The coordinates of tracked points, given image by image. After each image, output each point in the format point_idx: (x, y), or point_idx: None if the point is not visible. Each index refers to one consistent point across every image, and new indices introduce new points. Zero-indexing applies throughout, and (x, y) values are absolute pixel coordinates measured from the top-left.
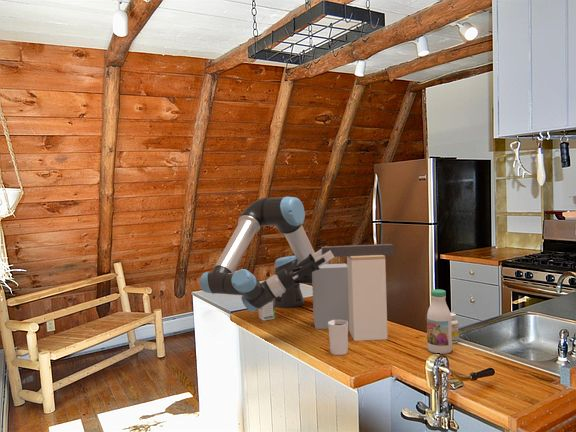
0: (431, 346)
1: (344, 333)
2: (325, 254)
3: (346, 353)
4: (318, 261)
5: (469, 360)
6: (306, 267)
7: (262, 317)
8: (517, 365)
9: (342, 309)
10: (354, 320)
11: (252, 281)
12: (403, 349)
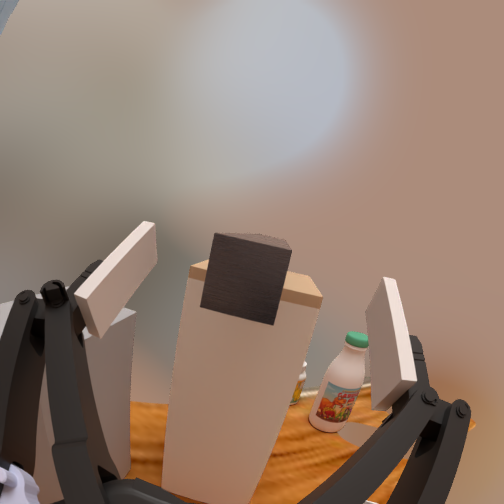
0: (340, 424)
1: None
2: (400, 310)
3: None
4: (426, 375)
5: (362, 412)
6: (457, 463)
7: None
8: (370, 390)
9: (118, 449)
10: (258, 481)
11: None
12: (318, 456)
